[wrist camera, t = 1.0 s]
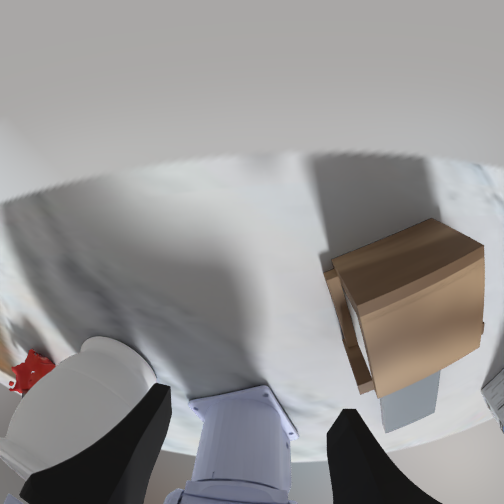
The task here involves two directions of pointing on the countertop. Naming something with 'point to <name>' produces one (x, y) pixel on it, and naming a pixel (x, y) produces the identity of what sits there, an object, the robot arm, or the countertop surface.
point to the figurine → (24, 372)
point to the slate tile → (410, 403)
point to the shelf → (410, 304)
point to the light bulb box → (495, 398)
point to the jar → (75, 405)
